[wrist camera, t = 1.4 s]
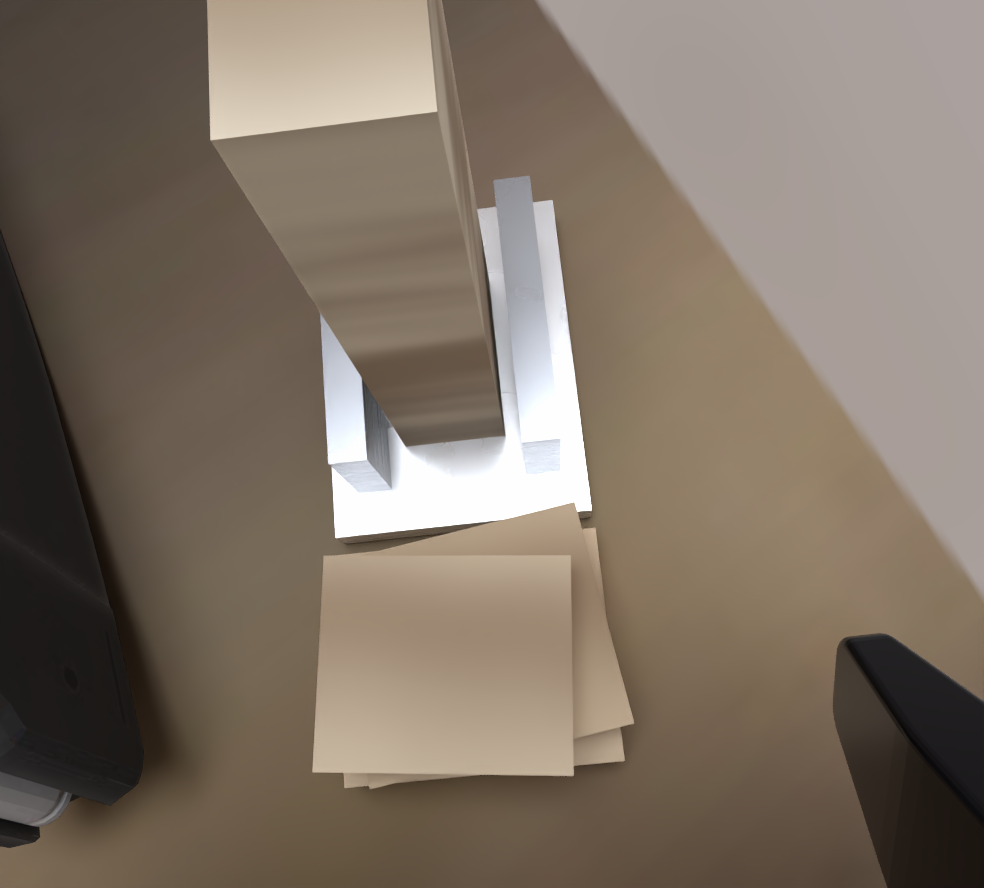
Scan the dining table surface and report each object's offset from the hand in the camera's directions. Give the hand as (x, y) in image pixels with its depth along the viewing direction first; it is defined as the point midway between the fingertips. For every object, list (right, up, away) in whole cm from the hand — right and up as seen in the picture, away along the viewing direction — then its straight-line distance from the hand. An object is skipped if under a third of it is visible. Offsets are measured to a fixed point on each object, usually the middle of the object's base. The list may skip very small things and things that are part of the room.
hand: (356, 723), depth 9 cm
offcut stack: (+1, -2, +13) cm, 14 cm away
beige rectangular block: (0, +5, +14) cm, 15 cm away
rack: (0, +4, +15) cm, 16 cm away
